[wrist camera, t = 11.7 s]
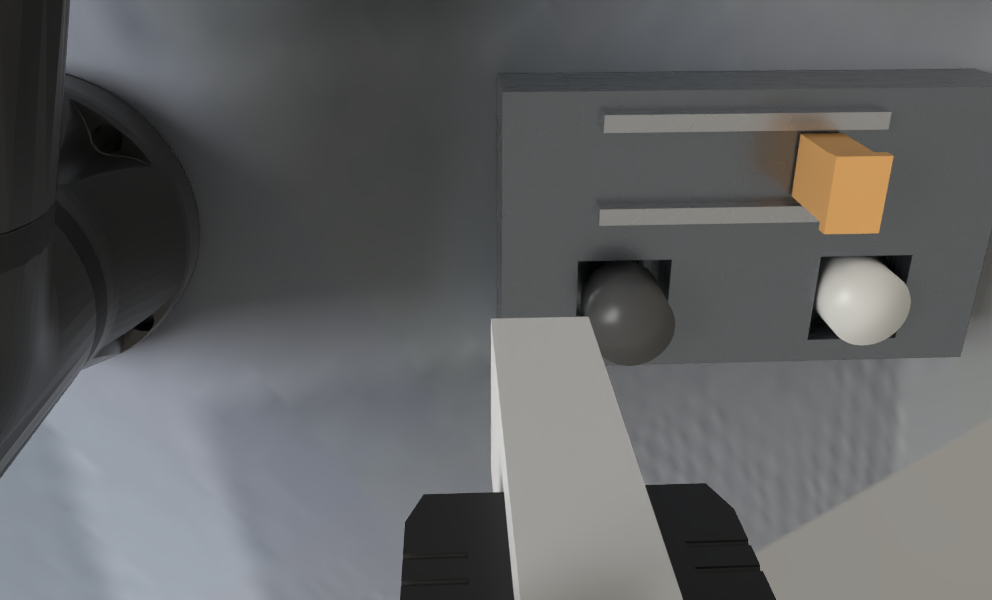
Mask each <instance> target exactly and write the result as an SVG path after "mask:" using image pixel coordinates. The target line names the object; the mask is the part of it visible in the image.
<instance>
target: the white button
mask: <svg viewBox="0 0 992 600" xmlns="http://www.w3.org/2000/svg"><path fill="white" fill-rule="evenodd" d="M910 305H911V297H910V293H909V290H908V288H907V286H906V284H905V283H904V282H903V281H902V280H901V279H900V278H899V277H898V276H896V275H895V274H894V273H893V272H892V271H891V270H889V269H888V268H887V267H886V266H885V265H884V264H882V263H881V262H880V261H879V260H878V259H877V258H875V257H874V256H830V257H821V260H820V266H819V272H818V278H817V284H816V291H815V297H814V303H813V309H814V310H815V311H816V312H817V313H818V314H819V315H820V317H821V318H822V319H823V320H824V321H825V322H826V323H827V325H828V326H829V327H830V328H831V329H832V330H833V331H834V333H835V334H836V335H837V336H838V337H839V338H840V339H842V340H843V341H845V342H847V343H850V344H853V345H871V344H875V343H878V342H881V341H883V340H885V339H887V338H889V337H890V336H891V335H893V334H894V333H895V332H896V331H897V330H898V329H899V328H900V327H901V326H902V325H903V323H904V322H905V320H906V318H907V316H908V314H909V310H910Z"/></svg>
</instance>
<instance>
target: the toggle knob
mask: <svg viewBox="0 0 992 600" xmlns="http://www.w3.org/2000/svg"><path fill="white" fill-rule="evenodd" d="M893 157H894V156H893V155H891V154H890V153H888V152H873V151H871V150H870V149H868V148H867V147H865V146H863V145H862V144H860V143H858V142H857V141H855V140H854V139H852V138H850V137H849V136H847V135H845V134H844V133H821V134H800V141H799V148H798V155H797V162H796V169H795V176H794V183H793V190H792V197H793V198H794V199H795V200H796V201H797V202H799V203H800V204H801V205H802V206H803V207H804V208H805V209H806V210H808V211H809V212H810V213H811V214H812V215H813V216H814V217H815V218H817V219H818V220H819V221H820V224H819V230H820V231H821V232H822V233H823V234H870V233H879V230H880V225H881V220H882V215H883V209H884V204H885V199H886V194H887V188H888V183H889V178H890V173H891V167H892V162H893Z"/></svg>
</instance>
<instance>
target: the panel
mask: <svg viewBox="0 0 992 600" xmlns="http://www.w3.org/2000/svg"><path fill="white" fill-rule="evenodd" d="M821 133H844V134H845V135H847V136H849V137H850V138H852V139H854V140H855V141H857V142H858V143H860V144H862V145H863V146H865V147H867V148H868V149H870V150H871V151H873V152H888V153H890V154H891V155H893V156H894V157H893V162H892V167H891V173H890V178H889V183H888V188H887V194H886V199H885V204H884V209H883V215H882V220H881V225H880V230H879V233H870V234H823V233H822V232H821V231H820V230H819V224H820V221H819V220H818V219H817V218H815V217H814V216H813V215H812V214H811V213H810V212H809V211H808V210H806V209H805V208H804V207H803V206H802V205H801V204H800V203H799V202H797V201H796V200H795V199H794V198H793V197H792V190H793V183H794V176H795V169H796V162H797V155H798V148H799V141H800V134H821ZM991 230H992V75H991V74H988V73H985V72H982V71H979V70H976V69H901V70H798V71H696V72H593V73H498V318H546V317H584V314H583V311H582V308H581V292H582V288H583V286H584V284H585V282H586V280H587V279H588V277H589V276H590V275H591V274H592V273H593V272H594V271H595V270H597V269H598V268H600V267H601V266H603V265H605V264H608V263H611V262H615V261H631V262H635V263H638V264H640V265H642V266H644V267H645V268H647V269H648V270H649V271H650V272H651V273H652V274H653V276H654V277H655V279H656V281H657V282H658V284H659V286H660V288H661V290H662V292H663V294H664V296H665V297H666V299H667V301H668V303H669V305H670V307H671V309H672V311H673V314H674V317H675V331H674V335H673V338H672V340H671V342H670V344H669V345H668V347H667V348H666V349H665V350H664V351H663V352H662V353H661V354H660V355H659V356H657V357H656V358H654V359H653V360H651V361H649V362H646V363H643V364H679V363H721V362H763V361H805V360H846V359H888V358H930V357H960V356H961V352H962V348H963V344H964V340H965V336H966V332H967V327H968V323H969V319H970V315H971V311H972V307H973V303H974V299H975V295H976V291H977V287H978V283H979V279H980V275H981V271H982V267H983V262H984V258H985V254H986V250H987V246H988V242H989V238H990V234H991ZM830 256H874V257H875V258H877V259H878V260H879V261H880V262H881V263H882V264H884V265H885V266H886V267H887V268H888V269H889V270H891V271H892V272H893V273H894V274H895V275H896V276H898V277H899V278H900V279H901V280H902V281H903V282H904V283H905V284H906V286H907V288H908V290H909V293H910V297H911V305H910V310H909V314H908V316H907V318H906V320H905V322H904V323H903V325H902V326H901V327H900V328H899V329H898V330H897V331H896V332H895V333H894V334H893V335H891V336H890V337H889V338H887V339H885V340H883V341H881V342H878V343H875V344H871V345H853V344H850V343H847V342H845V341H843V340H842V339H840V338H839V337H838V336H837V335H836V334H835V333H834V331H833V330H832V329H831V328H830V327H829V326H828V325H827V323H826V322H825V321H824V320H823V319H822V318H821V317H820V315H819V314H818V313H817V312H816V311H815V310H814V309H813V303H814V297H815V291H816V284H817V278H818V272H819V266H820V260H821V257H830ZM602 358H603V361H604V364H605V365H619V364H615V363H613V362H610V361H608V360H607V359H605V358H604V357H603V356H602Z"/></svg>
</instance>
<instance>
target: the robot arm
mask: <svg viewBox="0 0 992 600" xmlns="http://www.w3.org/2000/svg"><path fill="white" fill-rule="evenodd" d="M69 9H70V0H0V478H1V477H2V475H3V474H4V473H5V471H6V470H7V469H8V467H9V466H10V465H11V463H12V462H13V461H14V459H15V458H16V457H17V455H18V454H19V453H20V451H21V450H22V449H23V447H24V446H25V445H26V443H27V442H28V441H29V439H30V438H31V437H32V435H33V434H34V433H35V431H36V430H37V429H38V427H39V426H40V425H41V423H42V422H43V421H44V419H45V418H46V417H47V415H48V414H49V413H50V411H51V410H52V409H53V407H54V406H55V404H56V403H57V402H58V400H59V399H60V398H61V396H62V395H63V394H64V392H65V391H66V390H67V388H68V387H69V386H70V384H71V383H72V382H73V380H74V379H75V378H76V376H77V375H78V373H79V372H80V371H81V370H83V369H85V368H87V367H90V366H92V365H94V364H97V363H99V362H102V361H104V360H106V359H109V358H111V357H113V356H116V355H118V354H120V353H122V352H124V351H126V350H128V349H130V348H132V347H133V346H135V345H136V344H138V343H139V342H141V341H142V340H143V339H145V338H146V337H147V336H148V335H150V334H151V333H152V332H153V331H154V330H155V329H156V328H157V327H158V326H159V325H160V324H161V323H162V322H163V321H164V320H165V318H166V317H167V316H168V315H169V313H170V312H171V310H172V309H173V307H174V306H175V304H176V303H177V301H178V300H179V298H180V297H181V295H182V294H183V292H184V291H185V289H186V287H187V285H188V283H189V281H190V278H191V276H192V273H193V270H194V267H195V264H196V259H197V255H198V248H199V220H198V213H197V207H196V203H195V199H194V195H193V192H192V189H191V187H190V184H189V181H188V179H187V177H186V175H185V172H184V170H183V169H182V167H181V165H180V163H179V161H178V160H177V158H176V156H175V155H174V153H173V152H172V150H171V149H170V147H169V146H168V145H167V143H166V142H165V141H164V140H163V138H162V137H161V136H160V135H159V133H158V132H157V131H156V130H155V129H154V128H153V127H152V126H151V125H150V124H149V123H148V122H147V121H146V120H145V119H144V118H143V117H142V116H141V115H139V114H138V113H137V112H136V111H134V110H133V109H132V108H131V107H129V106H128V105H127V104H125V103H124V102H123V101H121V100H120V99H118V98H116V97H115V96H113V95H112V94H110V93H108V92H106V91H104V90H103V89H101V88H99V87H97V86H95V85H93V84H90V83H88V82H86V81H83V80H81V79H78V78H75V77H72V76H69V75H66V74H65V70H66V55H67V39H68V24H69ZM491 472H492V485H493V492H491V493H458V494H424V495H423V496H422V498H421V499H420V501H419V502H418V504H417V505H416V507H415V508H414V510H413V511H412V513H411V514H410V516H409V517H408V519H407V520H406V522H405V533H404V549H403V564H402V580H401V581H402V586H401V595H400V600H776V598H775V596H774V594H773V592H772V590H771V588H770V586H769V583H768V581H767V579H766V577H765V575H764V573H763V571H760V564H759V562H758V560H757V558H756V555H755V553H754V551H753V549H752V547H751V545H748V538H747V536H746V534H745V532H744V530H743V527H742V525H741V523H740V521H739V519H738V517H737V514H736V512H735V510H734V509H733V508H732V507H731V506H730V505H729V504H728V503H727V502H726V501H725V500H723V499H722V498H721V497H720V496H719V495H718V494H717V493H716V492H715V491H713V490H712V489H711V488H710V487H709V486H708V485H707V484H706V483H700V484H667V485H645V484H644V481H643V478H642V475H641V472H640V469H639V466H638V463H637V460H636V457H635V454H634V451H633V448H632V445H631V442H630V439H629V436H628V433H627V430H626V427H625V424H624V421H623V418H622V415H621V412H620V409H619V406H618V403H617V400H616V397H615V394H614V391H613V388H612V385H611V382H610V379H609V376H608V373H607V370H606V367H605V364H604V361H603V358H602V355H601V352H600V349H599V346H598V343H597V340H596V337H595V334H594V331H593V328H592V325H591V322H590V319H589V317H546V318H498V319H491Z"/></svg>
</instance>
